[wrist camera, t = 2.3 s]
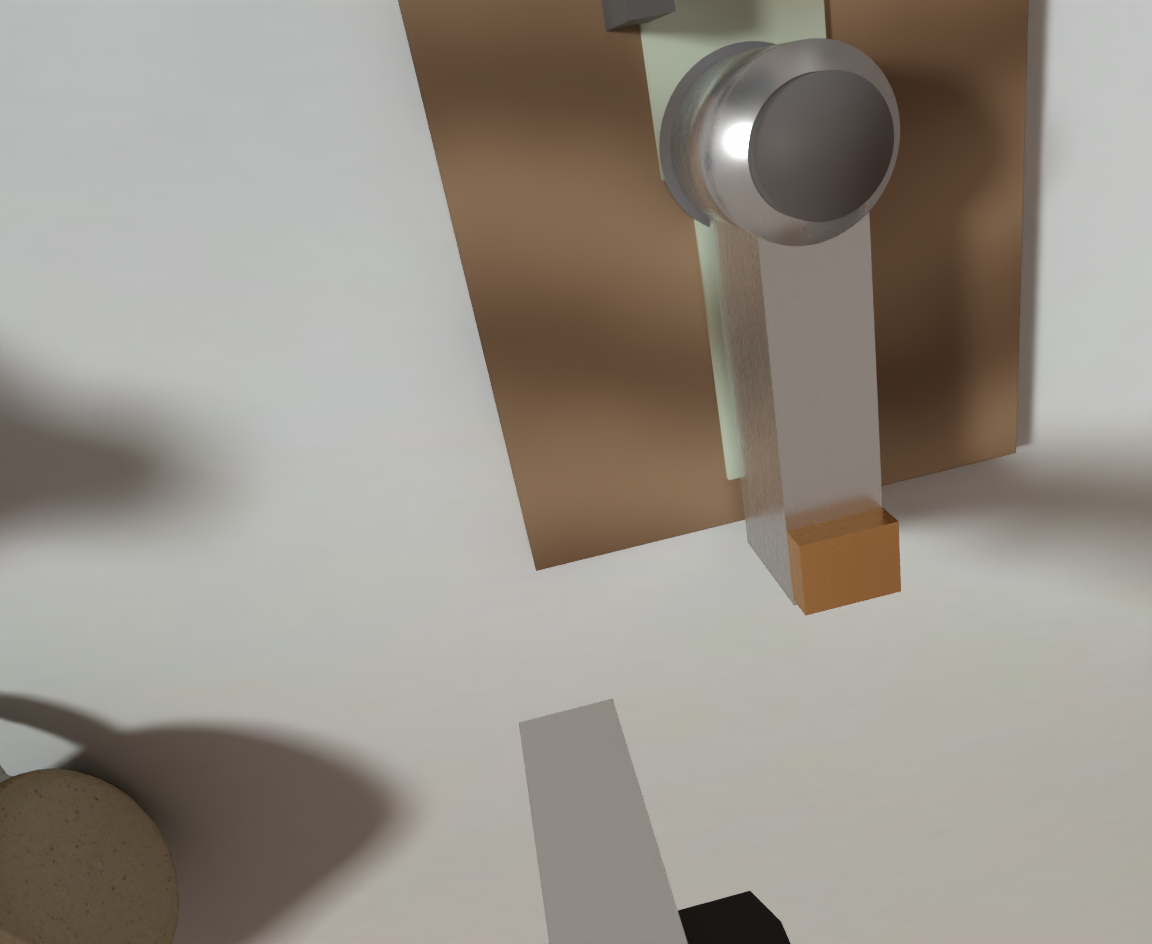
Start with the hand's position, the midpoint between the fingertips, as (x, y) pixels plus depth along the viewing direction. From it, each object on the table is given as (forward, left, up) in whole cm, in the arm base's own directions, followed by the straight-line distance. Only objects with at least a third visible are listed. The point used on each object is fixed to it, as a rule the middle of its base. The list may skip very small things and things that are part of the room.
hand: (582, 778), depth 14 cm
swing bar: (-3, +7, -11) cm, 14 cm away
